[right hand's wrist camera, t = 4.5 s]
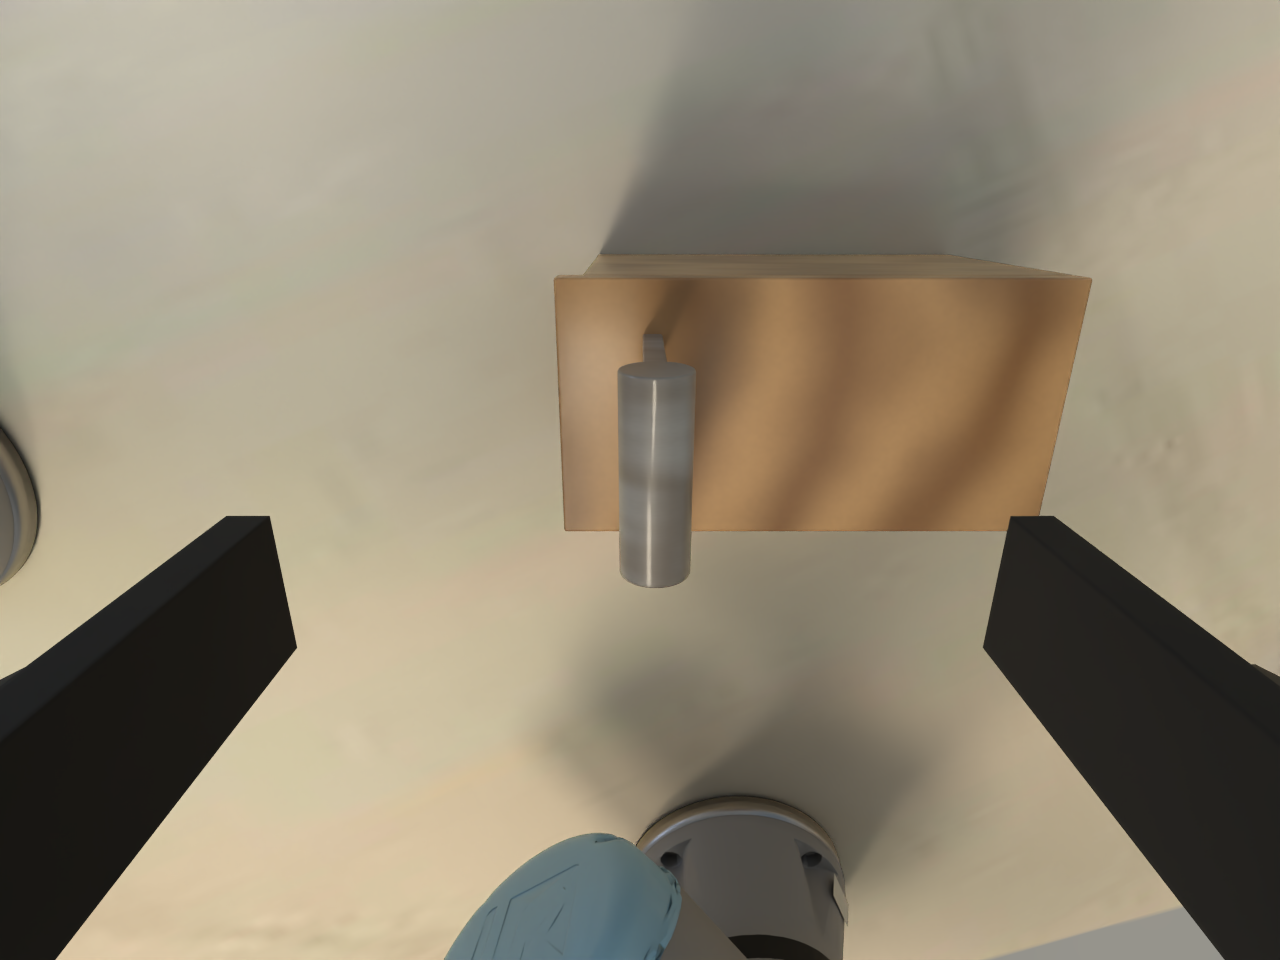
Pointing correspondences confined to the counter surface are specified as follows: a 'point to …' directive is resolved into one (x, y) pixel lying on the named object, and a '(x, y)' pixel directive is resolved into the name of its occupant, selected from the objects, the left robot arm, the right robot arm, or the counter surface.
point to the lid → (806, 404)
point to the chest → (800, 265)
